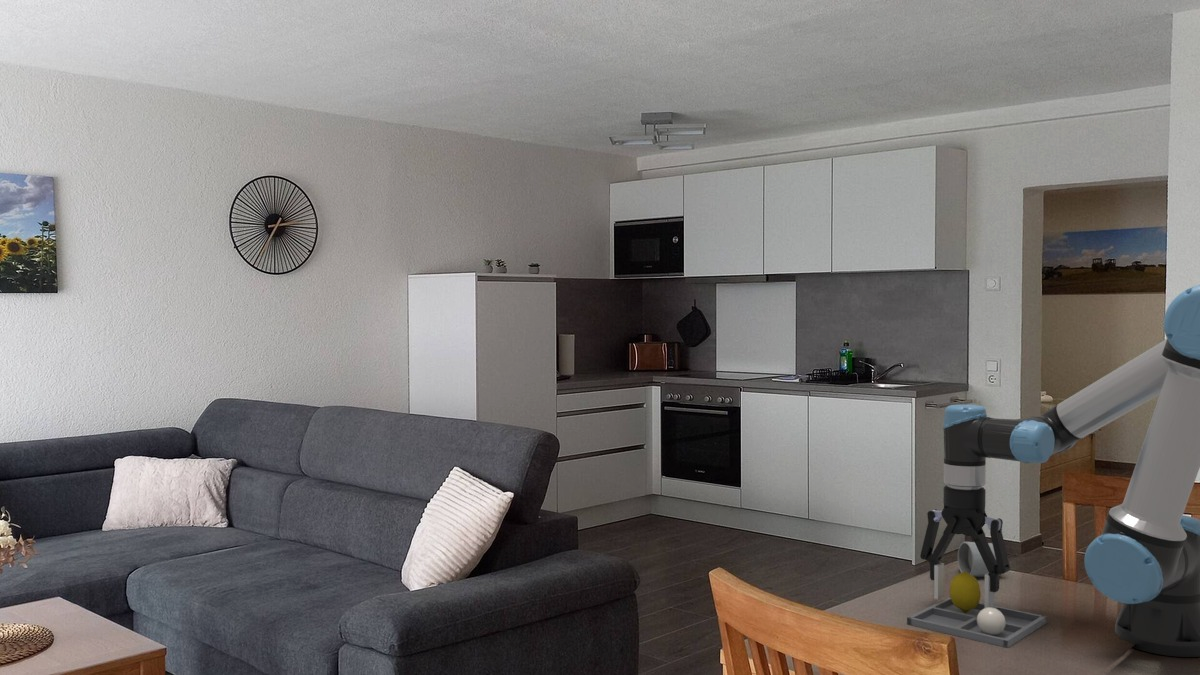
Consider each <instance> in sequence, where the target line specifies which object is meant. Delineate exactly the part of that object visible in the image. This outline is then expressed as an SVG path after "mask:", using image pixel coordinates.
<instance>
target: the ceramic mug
mask: <svg viewBox="0 0 1200 675" xmlns="http://www.w3.org/2000/svg"><path fill="white" fill-rule="evenodd" d="M988 544H989V546H990V549H991V551H992V553H993V555H994V557H995V553H994V548H993V544H992V542H988ZM995 559H996V557H995ZM957 564H958V568H959V572H960V573H962V572H963V571H966V572H967V573H968V574H971V575H972V576H974V577H975V578H982V577H983V578H985V574H987V573H989V572H988V570H987V568H986V565H985V563H984V561H983V559H982V557H981V555H980V553H979V550H978V548H977V546H976V544H975V542H974V541H963V542H961V543H960V545H959V547H958V550H957ZM1001 575H1002V574H1000V575H999V576H1001Z"/></svg>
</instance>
